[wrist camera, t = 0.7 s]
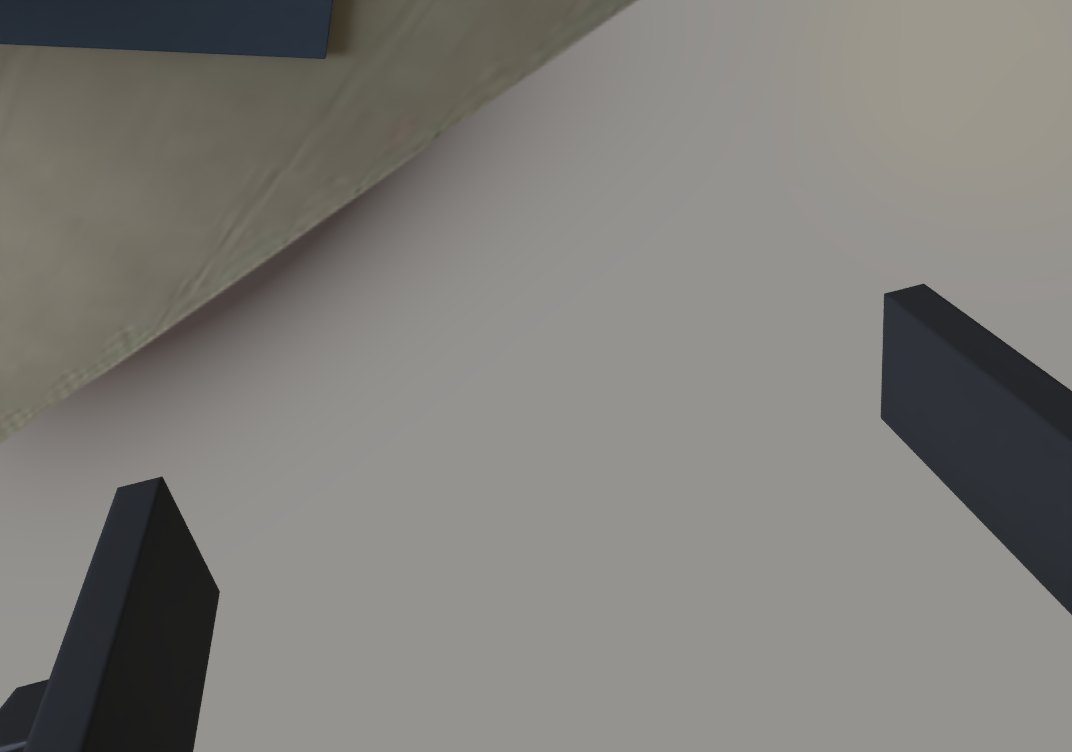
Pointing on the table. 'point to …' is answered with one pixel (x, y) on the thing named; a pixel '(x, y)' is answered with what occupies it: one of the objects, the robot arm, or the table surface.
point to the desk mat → (172, 25)
